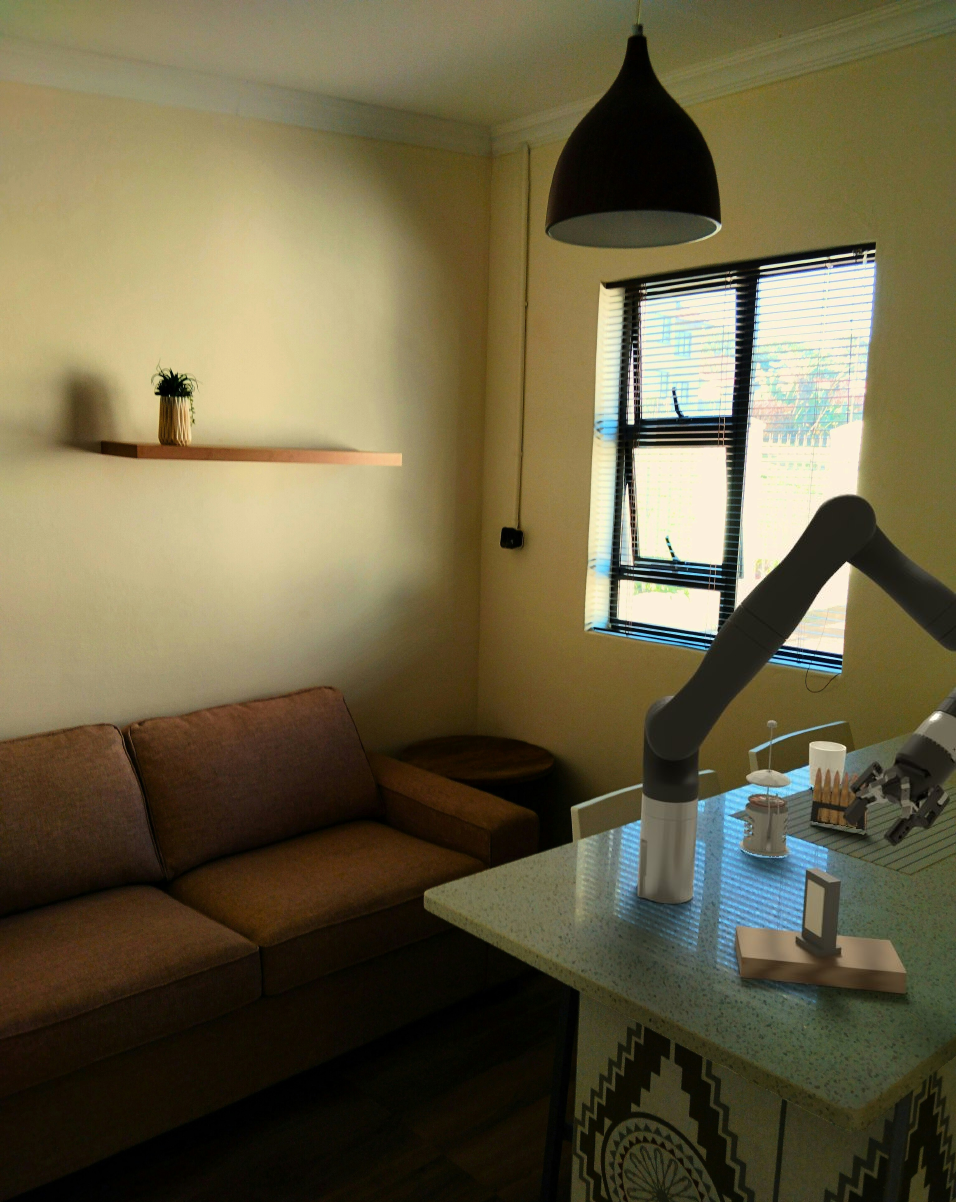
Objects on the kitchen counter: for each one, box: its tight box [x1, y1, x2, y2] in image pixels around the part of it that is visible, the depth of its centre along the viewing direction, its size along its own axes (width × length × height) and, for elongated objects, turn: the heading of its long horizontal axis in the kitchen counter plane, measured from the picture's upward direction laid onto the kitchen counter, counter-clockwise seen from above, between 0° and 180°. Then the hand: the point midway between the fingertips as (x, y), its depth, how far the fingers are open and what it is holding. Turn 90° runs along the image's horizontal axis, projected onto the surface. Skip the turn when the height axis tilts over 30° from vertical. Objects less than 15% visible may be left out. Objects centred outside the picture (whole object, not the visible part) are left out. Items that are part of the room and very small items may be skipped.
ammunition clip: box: [809, 767, 868, 830], centre depth 204 cm, size 11×2×12 cm, turn 57°
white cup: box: [808, 740, 847, 787], centre depth 230 cm, size 8×8×10 cm
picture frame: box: [795, 867, 842, 958], centre depth 145 cm, size 4×5×11 cm
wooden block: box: [734, 925, 908, 994], centre depth 146 cm, size 22×10×3 cm, turn 81°
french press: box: [739, 719, 792, 857], centre depth 190 cm, size 10×12×25 cm
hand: (867, 831), depth 147 cm, fingers open, 8 cm apart
